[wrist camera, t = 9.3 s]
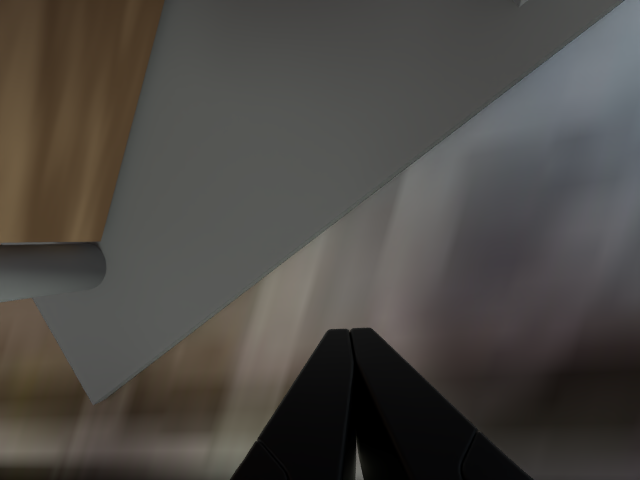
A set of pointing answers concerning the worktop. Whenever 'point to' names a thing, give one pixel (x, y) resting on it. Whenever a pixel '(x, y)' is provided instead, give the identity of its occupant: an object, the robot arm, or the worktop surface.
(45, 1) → the gate leaf
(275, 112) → the grey base plate
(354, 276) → the worktop surface
